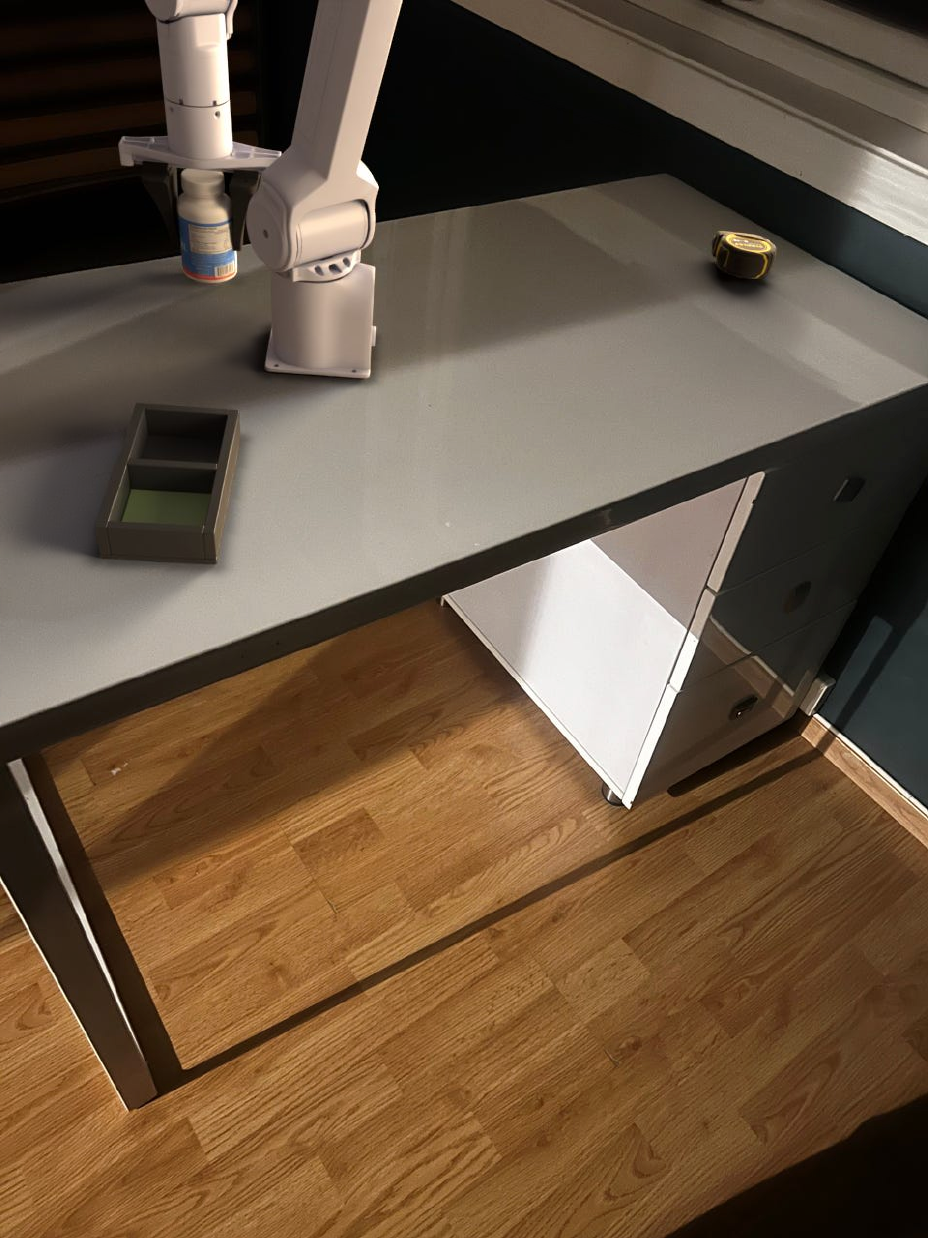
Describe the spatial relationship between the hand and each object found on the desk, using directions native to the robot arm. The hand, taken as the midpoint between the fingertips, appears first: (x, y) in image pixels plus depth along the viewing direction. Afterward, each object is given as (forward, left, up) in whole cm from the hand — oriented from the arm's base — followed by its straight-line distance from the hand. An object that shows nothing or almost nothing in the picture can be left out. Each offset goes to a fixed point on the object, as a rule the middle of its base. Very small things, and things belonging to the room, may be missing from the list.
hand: (208, 244), depth 97 cm
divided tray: (-2, +35, -4) cm, 35 cm away
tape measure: (-59, -13, -4) cm, 60 cm away
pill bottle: (0, 0, -3) cm, 3 cm away
